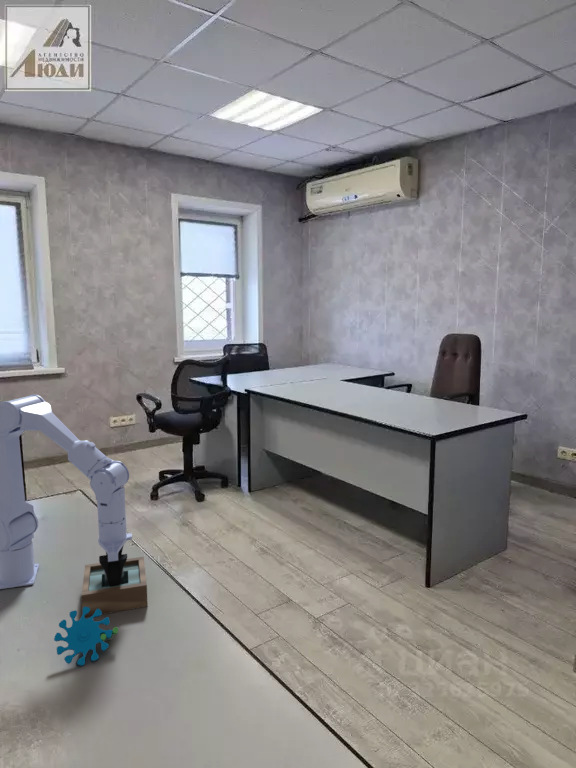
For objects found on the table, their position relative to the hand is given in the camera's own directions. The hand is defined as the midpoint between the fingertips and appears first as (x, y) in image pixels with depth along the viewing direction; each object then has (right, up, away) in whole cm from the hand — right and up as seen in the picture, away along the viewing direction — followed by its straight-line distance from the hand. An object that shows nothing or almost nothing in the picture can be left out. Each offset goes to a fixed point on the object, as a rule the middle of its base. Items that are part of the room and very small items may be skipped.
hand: (114, 576), depth 115 cm
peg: (0, -4, +1) cm, 4 cm away
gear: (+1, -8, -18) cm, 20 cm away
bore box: (0, -5, +1) cm, 5 cm away
